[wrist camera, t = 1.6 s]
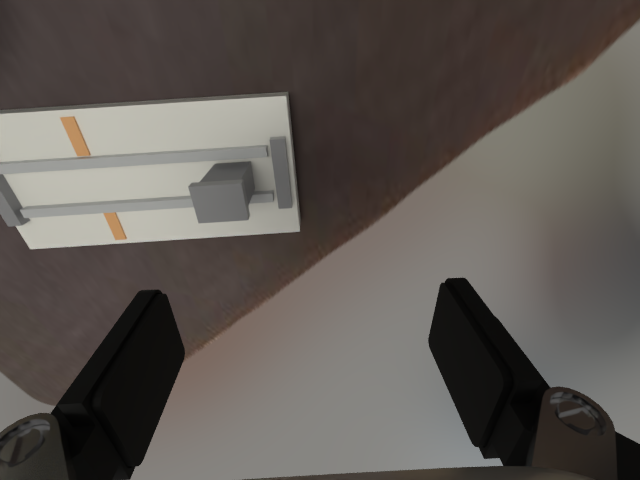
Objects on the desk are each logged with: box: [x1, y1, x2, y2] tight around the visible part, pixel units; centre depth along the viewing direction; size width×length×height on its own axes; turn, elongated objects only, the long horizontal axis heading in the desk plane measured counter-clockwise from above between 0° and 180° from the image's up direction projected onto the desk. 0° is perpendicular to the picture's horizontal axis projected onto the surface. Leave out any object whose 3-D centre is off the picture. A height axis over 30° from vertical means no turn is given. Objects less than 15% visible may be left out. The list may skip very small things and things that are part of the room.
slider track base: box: [0, 92, 300, 249], centre depth 28 cm, size 26×12×4 cm, turn 93°
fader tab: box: [188, 161, 255, 223], centre depth 24 cm, size 4×3×6 cm
